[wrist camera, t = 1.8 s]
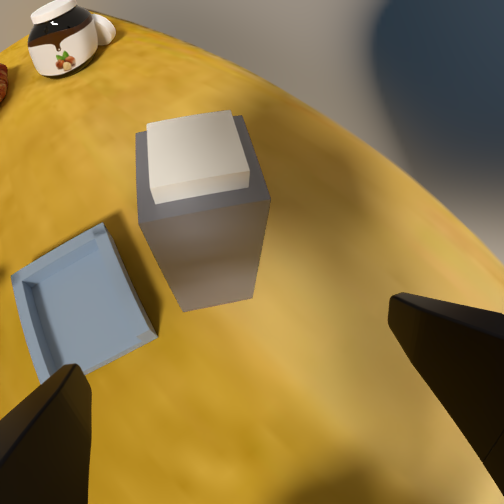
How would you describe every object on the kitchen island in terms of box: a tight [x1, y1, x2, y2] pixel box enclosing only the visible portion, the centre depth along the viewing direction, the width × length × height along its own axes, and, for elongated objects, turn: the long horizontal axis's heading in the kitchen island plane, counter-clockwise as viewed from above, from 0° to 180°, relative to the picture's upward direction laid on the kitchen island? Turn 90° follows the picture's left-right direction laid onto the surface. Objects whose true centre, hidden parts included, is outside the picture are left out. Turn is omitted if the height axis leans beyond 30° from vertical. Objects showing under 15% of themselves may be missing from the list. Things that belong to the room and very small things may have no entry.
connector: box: [136, 110, 271, 312], centre depth 18 cm, size 5×5×13 cm
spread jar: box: [28, 0, 116, 79], centre depth 32 cm, size 12×11×12 cm
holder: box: [11, 222, 158, 384], centre depth 20 cm, size 9×9×2 cm
